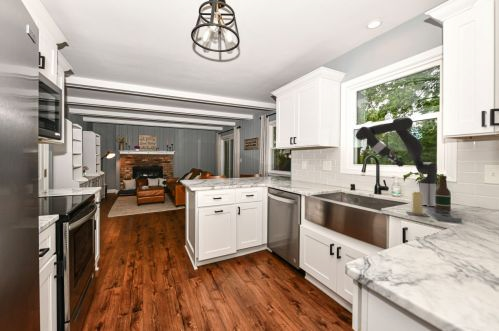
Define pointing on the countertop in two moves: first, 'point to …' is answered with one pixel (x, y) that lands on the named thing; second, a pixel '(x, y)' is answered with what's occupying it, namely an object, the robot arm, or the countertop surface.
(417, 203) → the wooden square peg
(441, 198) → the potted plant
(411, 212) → the rubber mat
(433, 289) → the countertop surface
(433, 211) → the grey slotted plate
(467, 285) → the countertop surface
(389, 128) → the robot arm
